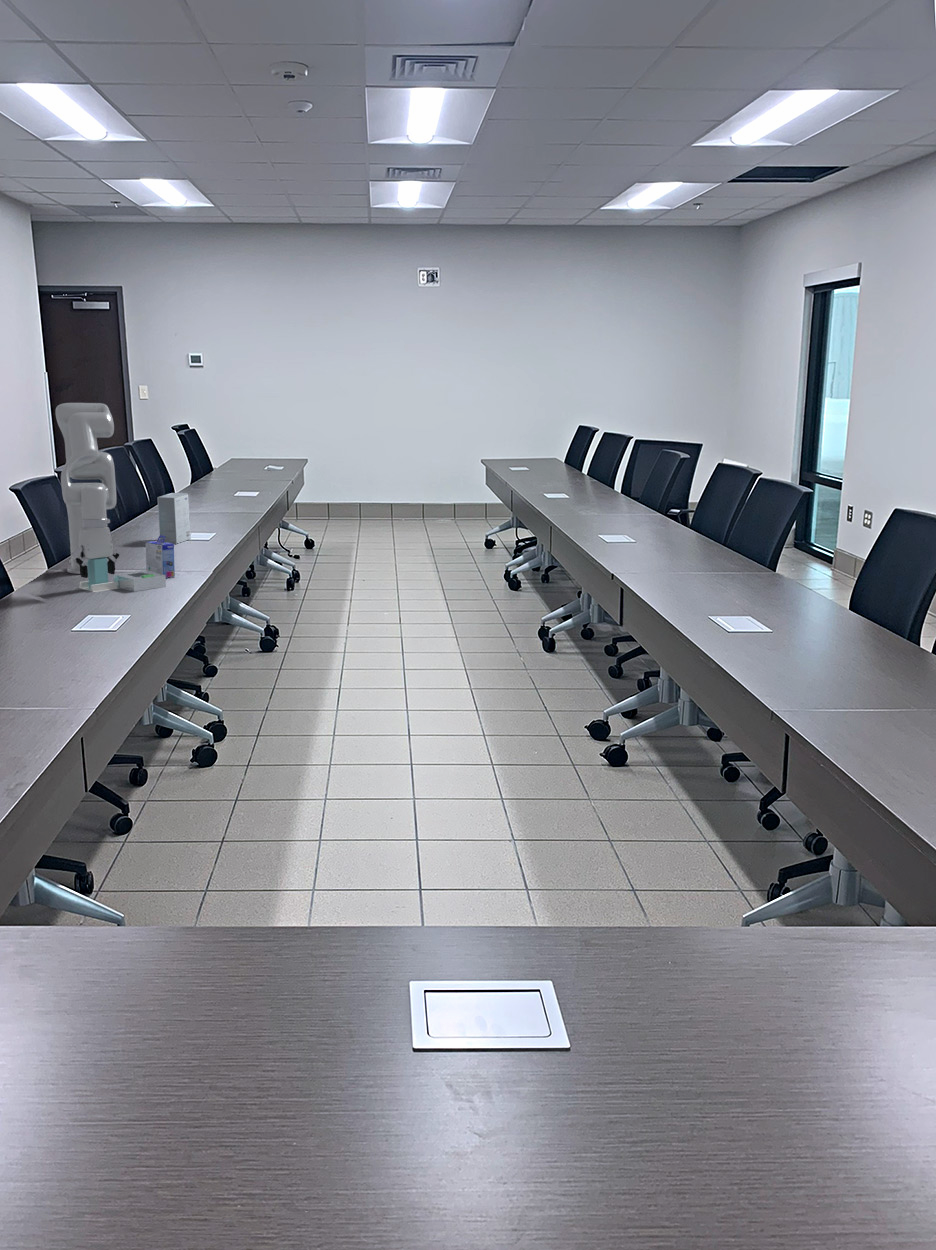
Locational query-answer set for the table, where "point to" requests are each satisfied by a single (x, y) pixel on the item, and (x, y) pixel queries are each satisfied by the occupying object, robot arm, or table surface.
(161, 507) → the hard drive box
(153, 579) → the port
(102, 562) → the plug
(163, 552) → the ink cartridge box
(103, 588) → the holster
